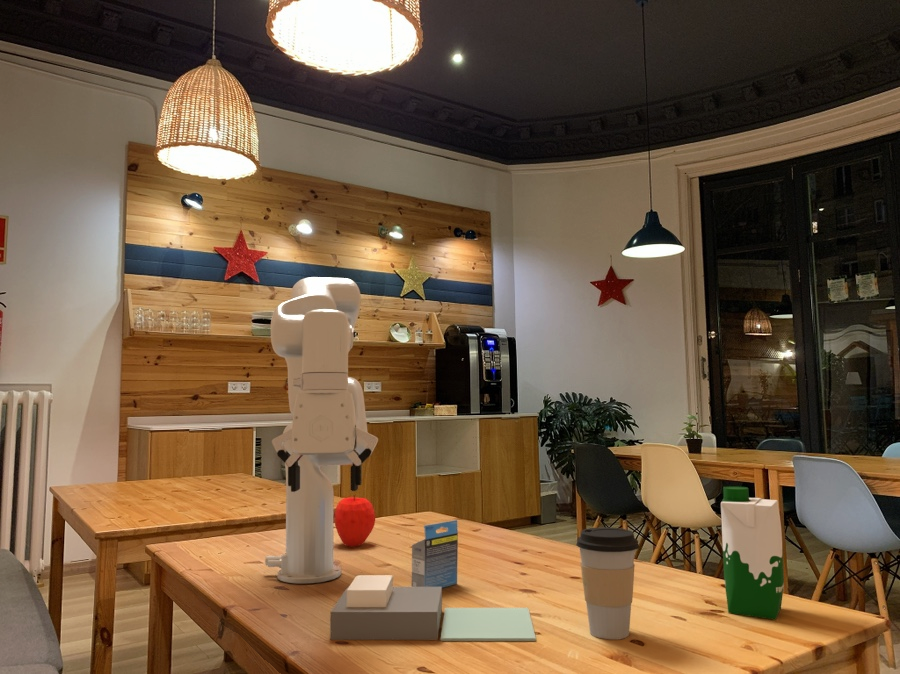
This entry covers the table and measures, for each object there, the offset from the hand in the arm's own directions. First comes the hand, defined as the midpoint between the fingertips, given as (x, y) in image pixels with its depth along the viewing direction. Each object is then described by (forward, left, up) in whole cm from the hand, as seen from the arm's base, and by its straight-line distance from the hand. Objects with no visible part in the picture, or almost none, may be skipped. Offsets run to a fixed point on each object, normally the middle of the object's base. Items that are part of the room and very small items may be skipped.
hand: (324, 490), depth 113 cm
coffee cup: (+44, -4, -21) cm, 50 cm away
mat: (+26, 0, -21) cm, 33 cm away
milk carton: (+70, +7, -21) cm, 74 cm away
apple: (-6, +60, -21) cm, 63 cm away
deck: (+10, 0, -21) cm, 23 cm away
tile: (+7, 0, -17) cm, 19 cm away
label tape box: (+16, +22, -21) cm, 34 cm away
